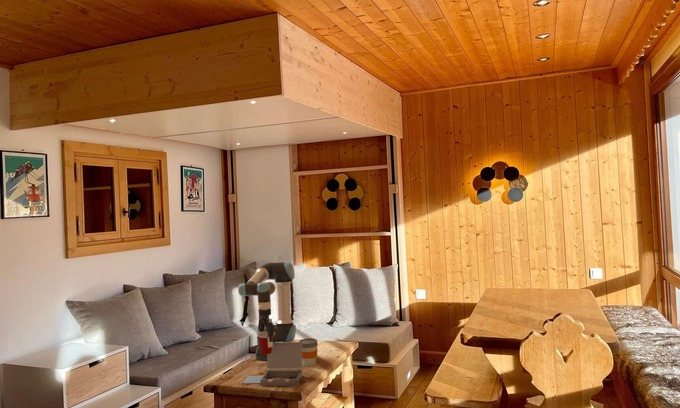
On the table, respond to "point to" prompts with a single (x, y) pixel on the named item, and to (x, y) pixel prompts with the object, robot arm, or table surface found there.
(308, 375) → the table surface
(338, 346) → the table surface
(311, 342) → the reusable coffee cup
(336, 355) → the table surface
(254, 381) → the mat
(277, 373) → the case
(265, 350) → the plastic cup
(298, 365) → the lid
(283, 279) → the robot arm
